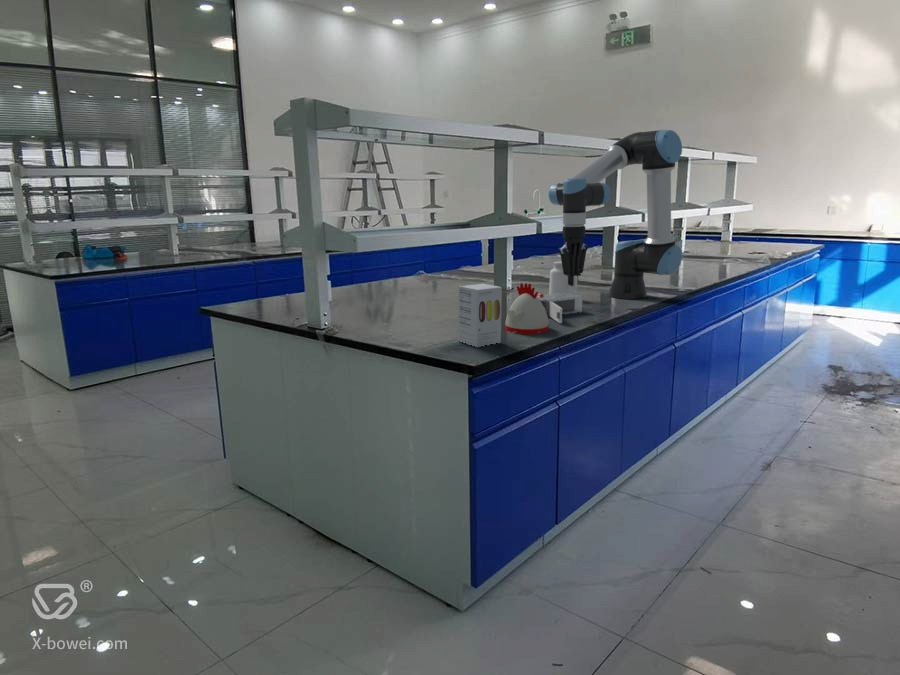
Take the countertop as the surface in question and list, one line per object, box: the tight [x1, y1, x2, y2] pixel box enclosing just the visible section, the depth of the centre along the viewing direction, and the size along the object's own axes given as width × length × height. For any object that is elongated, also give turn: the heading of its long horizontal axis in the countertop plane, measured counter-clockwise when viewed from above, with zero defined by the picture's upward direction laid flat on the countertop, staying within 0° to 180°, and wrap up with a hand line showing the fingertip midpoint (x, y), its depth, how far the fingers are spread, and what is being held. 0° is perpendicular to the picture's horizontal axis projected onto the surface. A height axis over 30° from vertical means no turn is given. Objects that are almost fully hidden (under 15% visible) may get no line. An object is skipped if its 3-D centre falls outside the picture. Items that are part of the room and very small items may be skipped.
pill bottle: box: [548, 261, 569, 294], centre depth 246 cm, size 8×8×15 cm
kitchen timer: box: [504, 282, 550, 335], centre depth 194 cm, size 14×14×15 cm
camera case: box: [537, 292, 584, 318], centre depth 220 cm, size 19×10×7 cm, turn 118°
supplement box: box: [458, 283, 503, 348], centre depth 177 cm, size 10×9×17 cm
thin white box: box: [548, 301, 563, 324], centre depth 207 cm, size 13×2×5 cm, turn 7°
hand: (572, 294), depth 210 cm, fingers closed
